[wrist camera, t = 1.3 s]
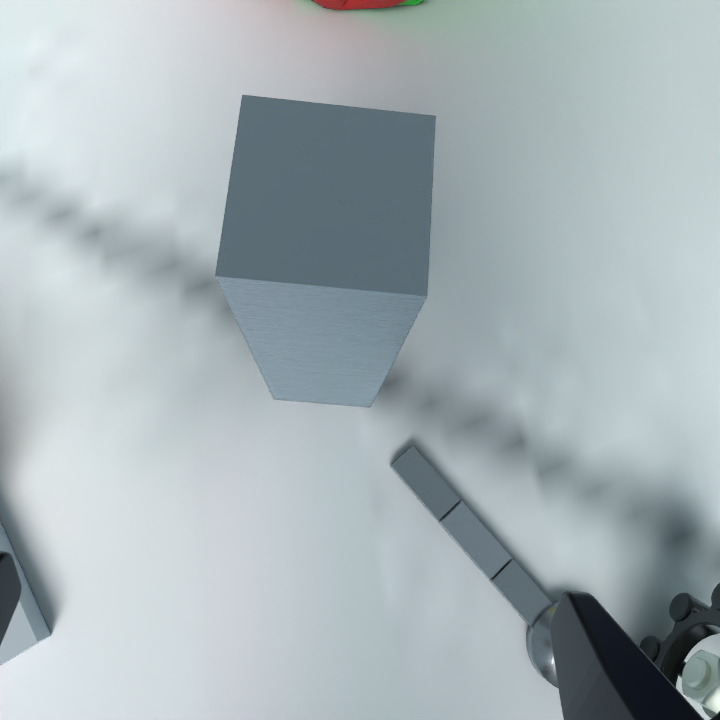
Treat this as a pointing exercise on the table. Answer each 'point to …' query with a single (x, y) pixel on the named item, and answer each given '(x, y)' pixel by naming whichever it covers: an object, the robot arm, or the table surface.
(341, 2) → the brain model
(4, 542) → the keeper bracket
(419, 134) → the rectangular block
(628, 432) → the table surface
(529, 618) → the grey grooved bar
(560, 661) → the robot arm
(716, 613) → the valve
